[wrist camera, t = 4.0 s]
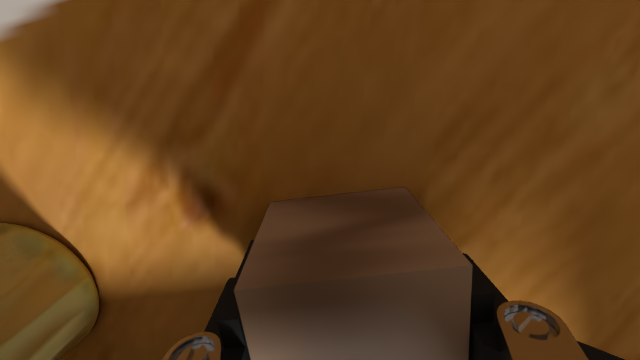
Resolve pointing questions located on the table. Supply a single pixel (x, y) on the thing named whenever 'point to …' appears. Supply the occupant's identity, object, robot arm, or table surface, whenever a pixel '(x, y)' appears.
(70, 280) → the vase
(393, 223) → the walnut cube
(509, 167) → the table surface
